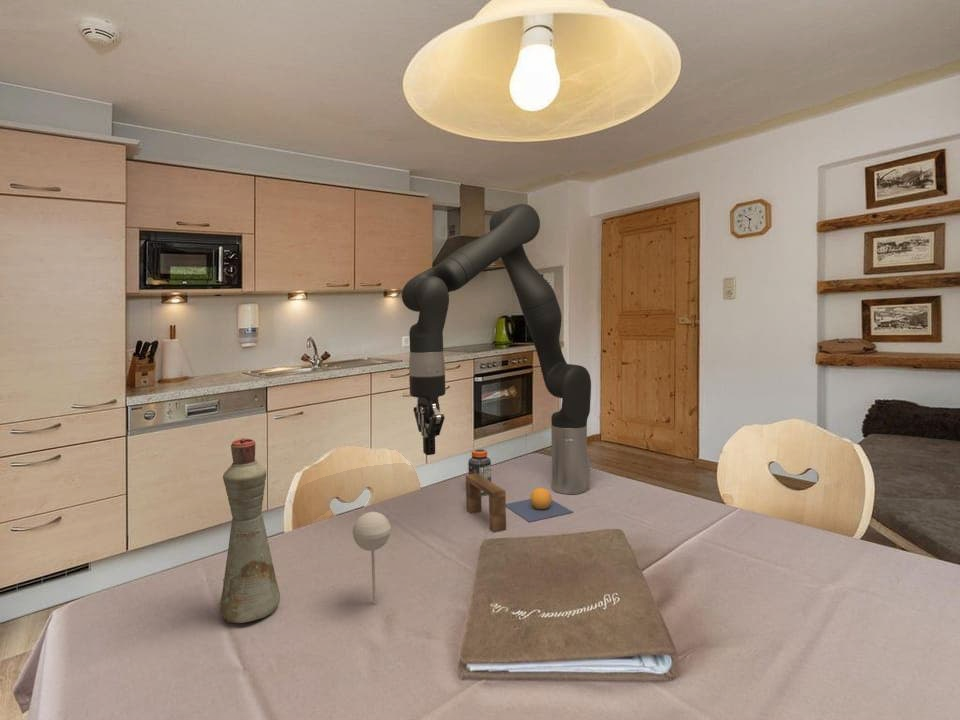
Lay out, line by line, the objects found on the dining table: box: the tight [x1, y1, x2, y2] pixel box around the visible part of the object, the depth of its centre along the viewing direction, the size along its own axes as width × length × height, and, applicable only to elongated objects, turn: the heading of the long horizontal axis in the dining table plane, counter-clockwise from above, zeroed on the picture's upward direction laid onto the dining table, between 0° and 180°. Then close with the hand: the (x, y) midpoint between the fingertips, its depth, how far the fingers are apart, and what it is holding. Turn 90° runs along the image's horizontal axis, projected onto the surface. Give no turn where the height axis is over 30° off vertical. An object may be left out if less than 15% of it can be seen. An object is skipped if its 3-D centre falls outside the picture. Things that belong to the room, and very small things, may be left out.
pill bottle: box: [467, 448, 492, 496], centre depth 133 cm, size 6×6×11 cm
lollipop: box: [352, 511, 392, 605], centre depth 81 cm, size 6×6×15 cm
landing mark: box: [506, 498, 574, 523], centre depth 121 cm, size 12×12×1 cm
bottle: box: [219, 437, 281, 624], centre depth 79 cm, size 9×9×28 cm
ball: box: [529, 487, 552, 509], centre depth 121 cm, size 5×5×5 cm
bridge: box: [465, 473, 507, 533], centre depth 115 cm, size 3×14×9 cm, turn 26°
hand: (429, 453), depth 108 cm, fingers closed
